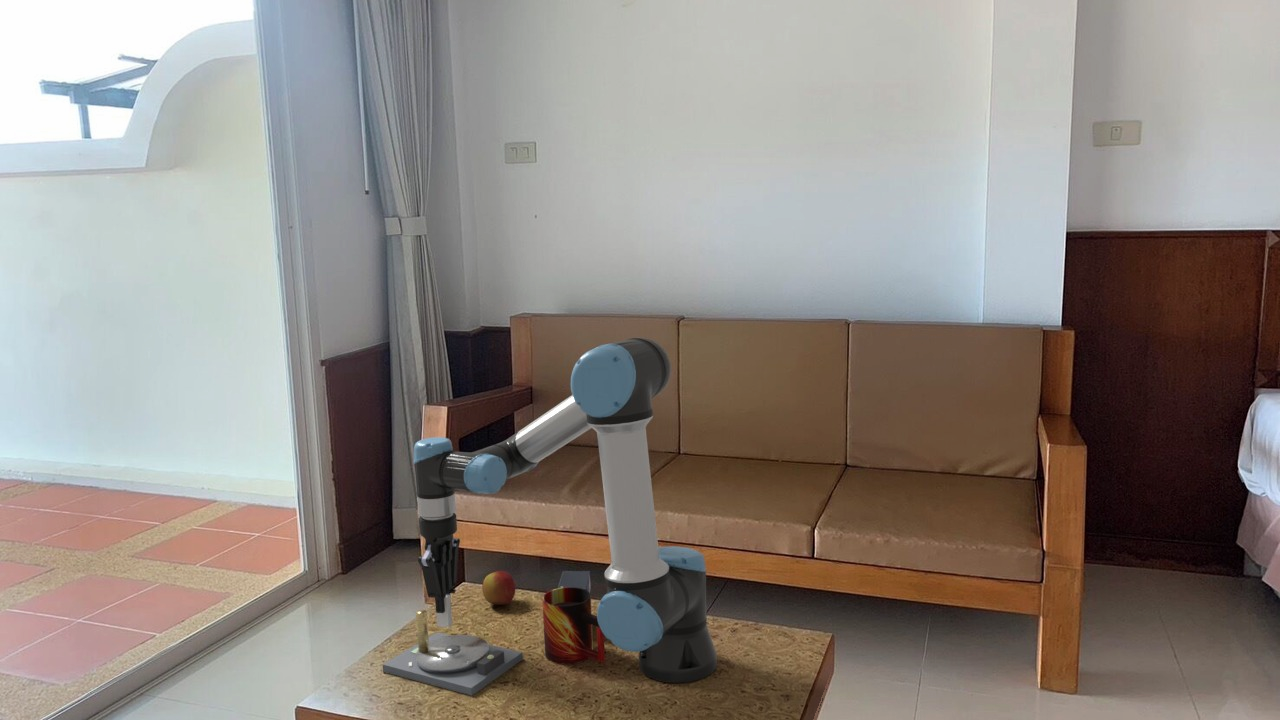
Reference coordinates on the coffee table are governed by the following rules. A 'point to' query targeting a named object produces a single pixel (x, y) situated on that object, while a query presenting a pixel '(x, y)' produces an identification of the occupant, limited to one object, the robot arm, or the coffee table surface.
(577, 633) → the mug
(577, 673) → the coffee table surface
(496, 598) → the apple
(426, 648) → the crank wheel
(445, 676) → the record turntable
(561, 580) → the small box
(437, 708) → the coffee table surface
